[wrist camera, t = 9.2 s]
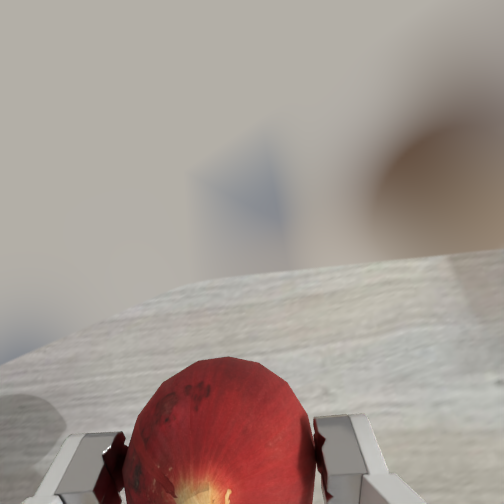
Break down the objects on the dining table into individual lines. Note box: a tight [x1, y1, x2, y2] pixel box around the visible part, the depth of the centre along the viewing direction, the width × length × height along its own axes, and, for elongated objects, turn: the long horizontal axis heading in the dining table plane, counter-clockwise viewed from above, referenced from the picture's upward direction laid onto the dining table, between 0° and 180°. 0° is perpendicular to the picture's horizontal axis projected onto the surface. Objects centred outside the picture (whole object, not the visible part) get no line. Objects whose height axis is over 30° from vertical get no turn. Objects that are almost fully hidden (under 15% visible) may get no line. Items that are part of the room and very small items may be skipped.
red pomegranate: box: [122, 357, 316, 504], centre depth 10 cm, size 6×6×8 cm
